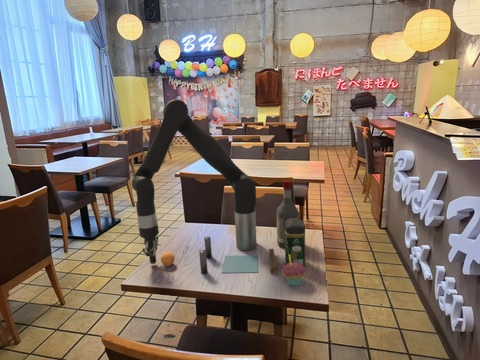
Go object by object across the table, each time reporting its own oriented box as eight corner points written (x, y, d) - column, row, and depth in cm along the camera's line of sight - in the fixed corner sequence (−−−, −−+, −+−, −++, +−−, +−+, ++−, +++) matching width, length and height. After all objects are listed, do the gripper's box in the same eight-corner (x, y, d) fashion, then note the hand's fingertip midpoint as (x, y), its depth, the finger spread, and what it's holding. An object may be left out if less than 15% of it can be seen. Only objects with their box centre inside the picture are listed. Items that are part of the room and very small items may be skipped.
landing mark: (257, 255, 136) (257, 254, 136) (257, 272, 123) (257, 272, 123) (225, 256, 137) (225, 255, 137) (221, 273, 124) (221, 272, 124)
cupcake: (291, 291, 110) (290, 259, 107) (277, 280, 117) (276, 250, 114) (310, 284, 114) (311, 253, 111) (296, 273, 121) (296, 244, 118)
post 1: (208, 270, 126) (206, 249, 124) (207, 274, 123) (205, 253, 121) (201, 270, 126) (199, 250, 124) (200, 274, 123) (198, 253, 121)
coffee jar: (284, 258, 133) (283, 216, 128) (303, 258, 132) (303, 216, 128) (285, 270, 123) (285, 225, 119) (306, 270, 123) (306, 225, 118)
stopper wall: (273, 253, 137) (273, 248, 136) (276, 273, 121) (276, 267, 121) (269, 254, 137) (268, 248, 136) (270, 273, 122) (270, 267, 121)
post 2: (212, 255, 138) (210, 236, 136) (211, 258, 136) (210, 239, 133) (206, 255, 138) (204, 236, 136) (205, 258, 136) (203, 239, 134)
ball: (176, 261, 134) (175, 249, 133) (173, 268, 129) (172, 256, 128) (163, 262, 134) (162, 250, 133) (160, 268, 129) (158, 256, 128)
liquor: (295, 239, 150) (295, 178, 143) (300, 248, 141) (299, 183, 134) (276, 240, 150) (275, 179, 142) (279, 249, 141) (278, 184, 134)
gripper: (151, 230, 121) (157, 270, 126) (161, 217, 134) (166, 255, 138) (132, 230, 122) (138, 271, 126) (144, 218, 135) (149, 255, 139)
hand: (153, 262), depth 132 cm, fingers closed
